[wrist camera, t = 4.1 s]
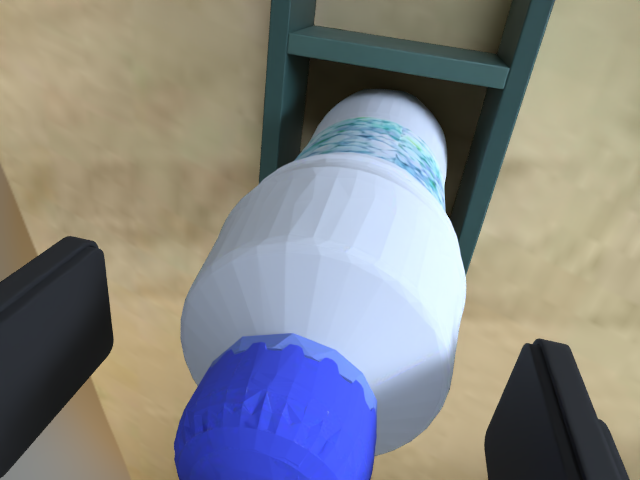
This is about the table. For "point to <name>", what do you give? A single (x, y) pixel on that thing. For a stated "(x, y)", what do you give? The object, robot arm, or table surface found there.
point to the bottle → (327, 305)
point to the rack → (411, 58)
